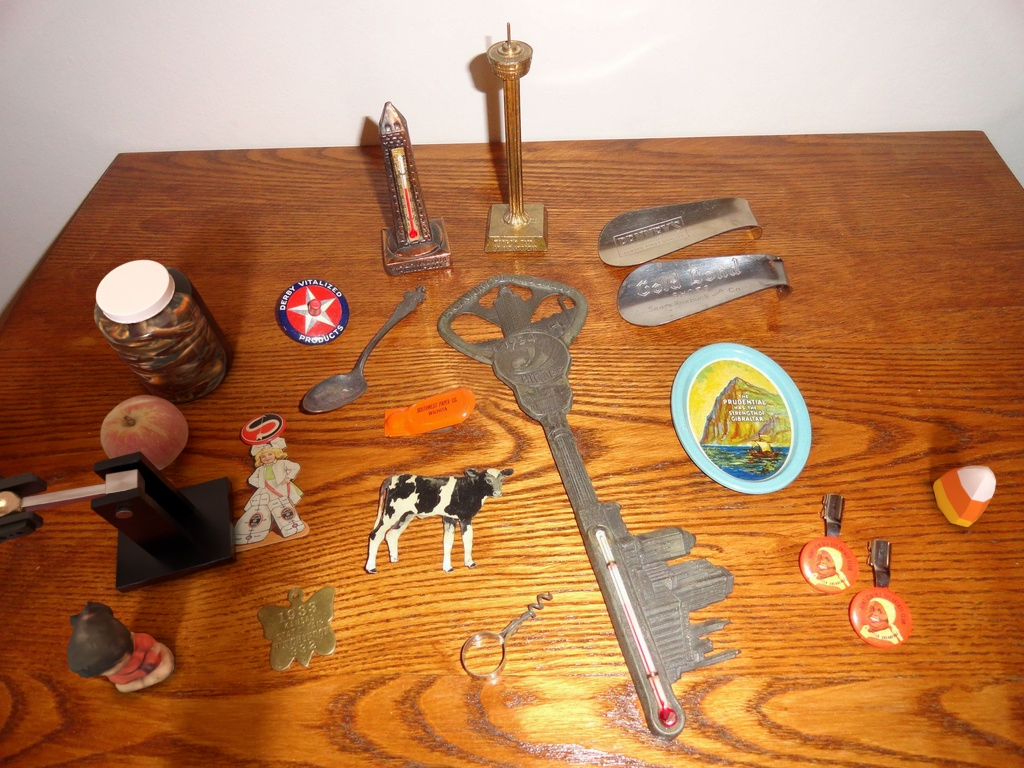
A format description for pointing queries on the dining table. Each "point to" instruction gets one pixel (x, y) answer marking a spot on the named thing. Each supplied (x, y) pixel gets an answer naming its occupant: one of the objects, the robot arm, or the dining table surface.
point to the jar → (162, 330)
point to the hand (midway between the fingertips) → (39, 499)
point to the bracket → (166, 524)
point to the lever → (69, 494)
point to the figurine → (115, 650)
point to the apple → (145, 430)
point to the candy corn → (964, 493)
